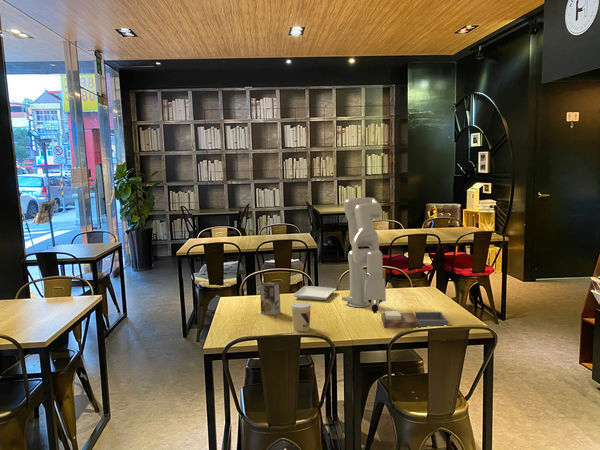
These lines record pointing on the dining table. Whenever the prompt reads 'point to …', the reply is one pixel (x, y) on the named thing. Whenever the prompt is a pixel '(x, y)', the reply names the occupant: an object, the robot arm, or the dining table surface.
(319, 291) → the salad plate
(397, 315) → the tile
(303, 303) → the coffee cup
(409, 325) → the flat wooden board
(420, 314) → the tray
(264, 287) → the coffee box
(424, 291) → the dining table surface
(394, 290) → the dining table surface
